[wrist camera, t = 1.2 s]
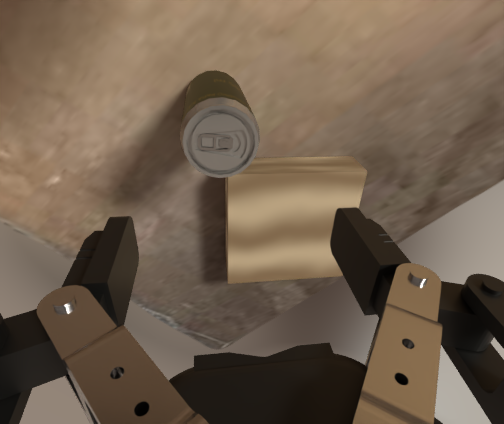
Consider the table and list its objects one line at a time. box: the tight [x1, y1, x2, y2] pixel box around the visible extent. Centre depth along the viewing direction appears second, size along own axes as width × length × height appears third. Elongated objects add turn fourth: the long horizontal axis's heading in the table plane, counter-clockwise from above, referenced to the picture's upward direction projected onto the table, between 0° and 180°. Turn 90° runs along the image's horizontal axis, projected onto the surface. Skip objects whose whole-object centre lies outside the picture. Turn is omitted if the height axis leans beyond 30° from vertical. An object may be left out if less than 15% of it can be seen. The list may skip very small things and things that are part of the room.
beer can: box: [180, 71, 260, 178], centre depth 27 cm, size 5×5×12 cm
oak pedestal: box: [225, 156, 367, 284], centre depth 38 cm, size 14×14×4 cm
